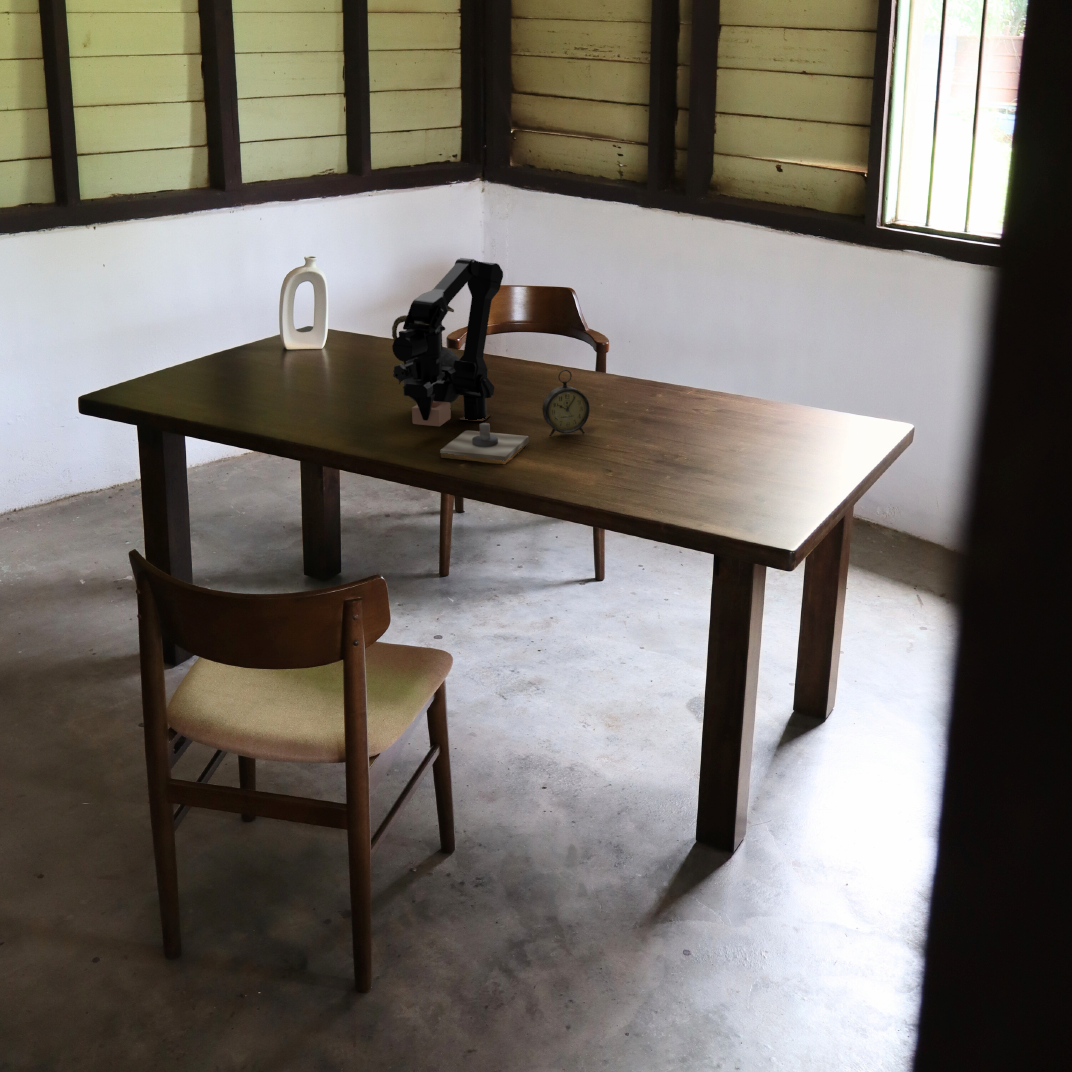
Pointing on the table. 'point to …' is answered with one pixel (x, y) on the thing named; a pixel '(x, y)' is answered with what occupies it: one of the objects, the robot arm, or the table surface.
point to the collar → (433, 414)
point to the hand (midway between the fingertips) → (431, 415)
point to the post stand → (485, 444)
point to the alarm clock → (566, 408)
